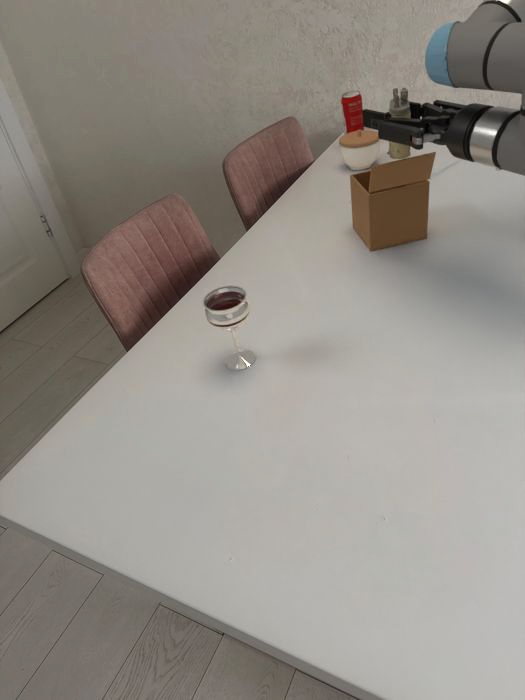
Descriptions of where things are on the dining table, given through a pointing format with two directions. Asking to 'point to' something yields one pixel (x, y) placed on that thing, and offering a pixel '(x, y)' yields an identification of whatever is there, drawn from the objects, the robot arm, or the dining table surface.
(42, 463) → the dining table surface
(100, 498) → the dining table surface
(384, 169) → the carton flap
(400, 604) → the dining table surface
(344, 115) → the beverage can
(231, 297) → the wineglass
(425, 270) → the dining table surface
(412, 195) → the carton
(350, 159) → the trinket box
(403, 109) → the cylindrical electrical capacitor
